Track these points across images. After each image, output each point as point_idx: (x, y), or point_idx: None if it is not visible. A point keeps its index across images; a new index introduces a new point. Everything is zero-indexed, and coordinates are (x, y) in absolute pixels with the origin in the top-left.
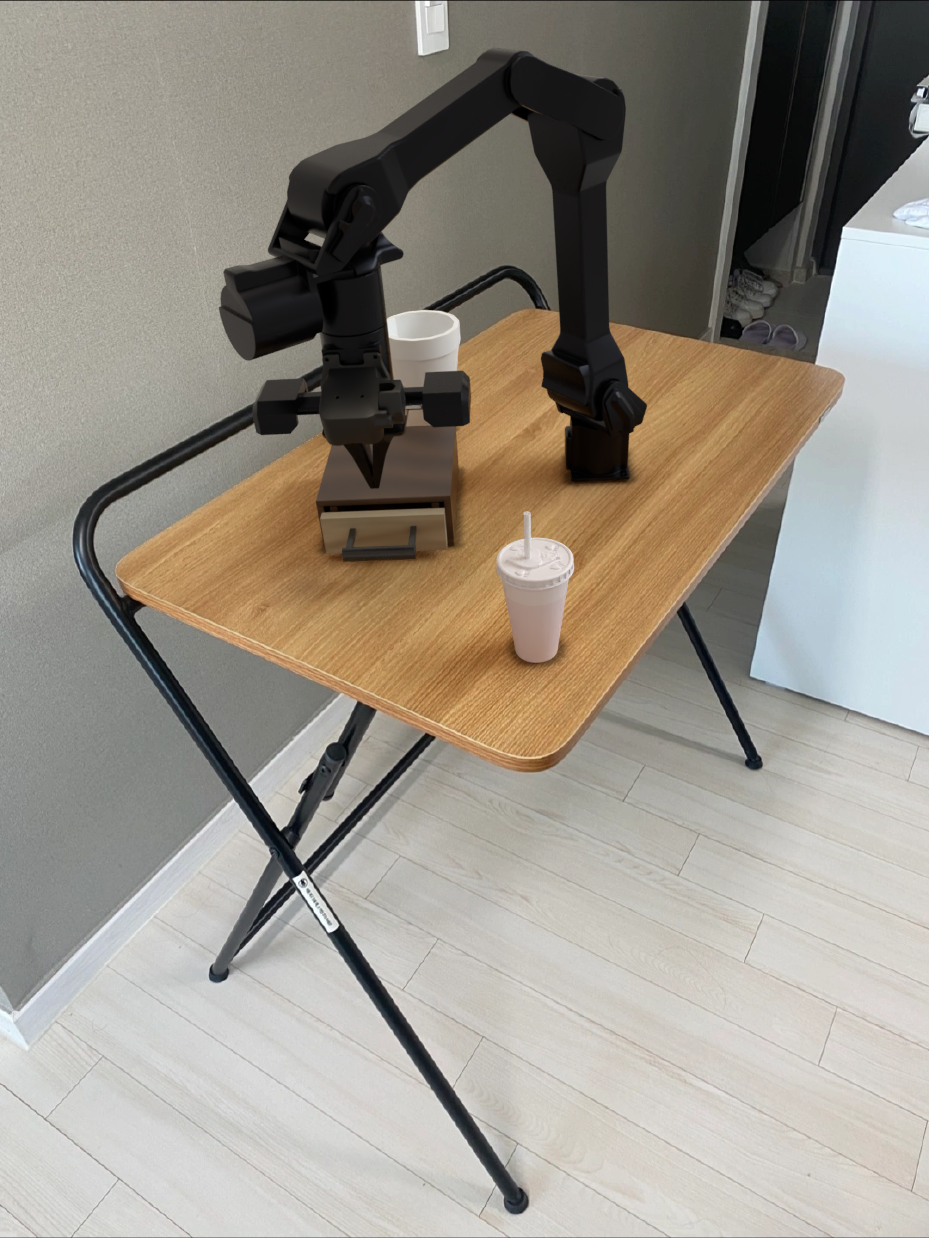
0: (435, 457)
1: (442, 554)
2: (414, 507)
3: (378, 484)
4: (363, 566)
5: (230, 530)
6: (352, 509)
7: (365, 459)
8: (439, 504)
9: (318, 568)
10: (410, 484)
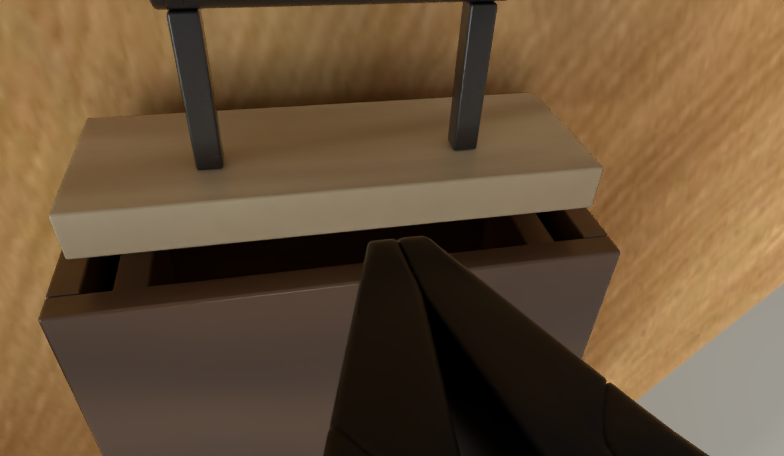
0: None
1: None
2: None
3: (373, 256)
4: (404, 49)
5: (754, 216)
6: None
7: (524, 418)
8: (114, 289)
9: (554, 41)
10: (252, 369)
